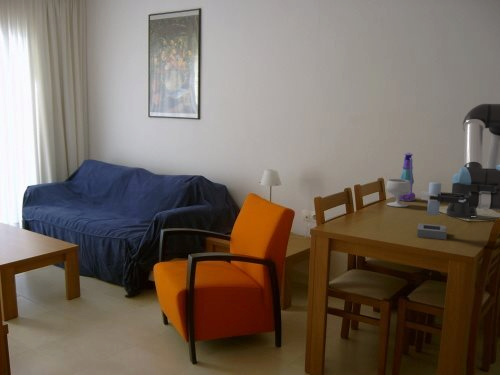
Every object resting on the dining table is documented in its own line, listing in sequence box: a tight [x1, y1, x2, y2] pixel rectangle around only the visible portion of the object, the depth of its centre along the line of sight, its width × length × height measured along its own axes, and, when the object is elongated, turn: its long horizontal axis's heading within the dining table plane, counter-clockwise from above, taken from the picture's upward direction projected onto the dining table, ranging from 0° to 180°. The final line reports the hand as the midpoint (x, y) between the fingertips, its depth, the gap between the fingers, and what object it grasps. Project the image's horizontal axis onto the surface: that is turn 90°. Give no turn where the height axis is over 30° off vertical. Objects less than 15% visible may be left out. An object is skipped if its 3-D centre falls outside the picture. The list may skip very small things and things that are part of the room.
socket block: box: [416, 222, 448, 241], centre depth 215 cm, size 12×12×4 cm
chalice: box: [385, 178, 411, 208], centre depth 280 cm, size 14×14×15 cm
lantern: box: [399, 152, 416, 202], centre depth 297 cm, size 13×12×30 cm
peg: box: [426, 181, 442, 216], centre depth 212 cm, size 5×5×14 cm
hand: (421, 195), depth 214 cm, fingers closed on peg, 5 cm apart
